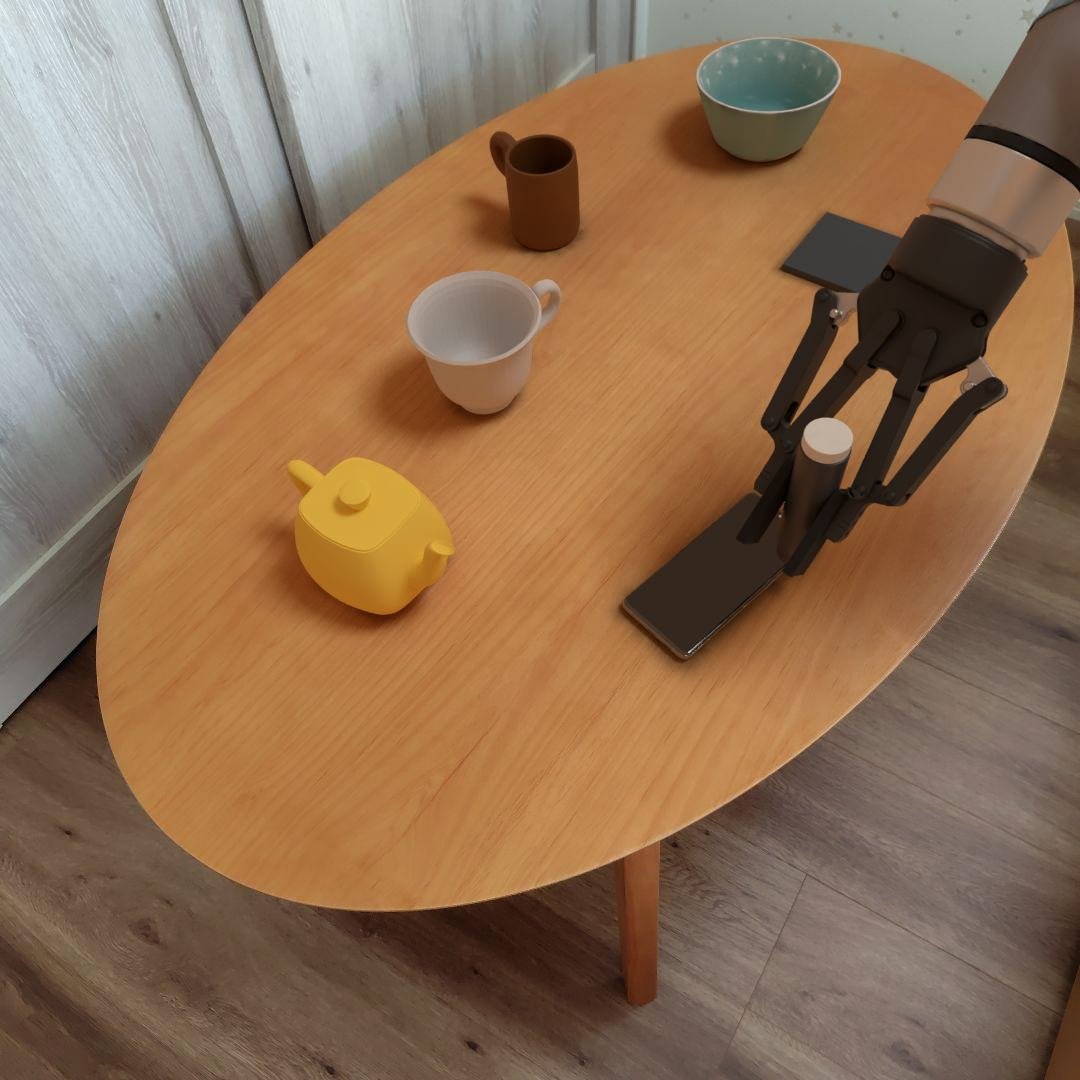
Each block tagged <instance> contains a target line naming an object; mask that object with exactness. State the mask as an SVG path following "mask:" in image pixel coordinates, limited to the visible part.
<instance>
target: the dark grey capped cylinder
mask: <svg viewBox="0 0 1080 1080" xmlns="http://www.w3.org/2000/svg"><path fill="white" fill-rule="evenodd" d="M853 443H854V433H853V431H852V430H851V428H850V427H849V426H848V425H847V424H846V423H845V422H843V421H841V420H839V419H837V418H819V419H816V420H813V421H812V422H810V423H809V424H808V425H807V426H806V428H805V430H804V433H803V436H802V437H801V439H800V442H799V446H798V450H797V454H796V458H795V463H794V467H793V471H792V475H791V479H790V483H789V487H788V491H787V495H786V499H785V502H784V503H783V507H782V510H781V511H782V515H781V519H780V523H779V527H778V531H777V535H776V538H777V547H776V551H777V554H778V556H779V558H780V559H781V560H782V561H783V562H784V563H786V564H787V562H788V561H789V559H790V558H791V556H792V555H793V553H794V551H795V550H796V548H797V547H798V545H799V544H800V542H801V541H802V539H803V538H804V536H805V535H806V533H807V532H808V530H809V529H810V527H811V526H812V524H813V523H814V521H815V520H816V518H817V516H818V515H819V513H820V512H821V510H822V509H823V507H824V506H825V504H826V503H827V501H828V500H829V498H830V497H831V495H832V494H833V492H834V491H835V489H841V486H842V483H843V479H844V476H845V473H846V470H847V467H848V464H849V461H850V457H851V455H852V446H853Z"/></svg>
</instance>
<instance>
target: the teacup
mask: <svg viewBox="0 0 1080 1080" xmlns="http://www.w3.org/2000/svg"><path fill="white" fill-rule="evenodd" d="M549 293H550V294H549ZM546 294H549V299H548V301H547V303H546V304H545V306H544V308H543V309H542V306H541V302H540V301H541V299H542V298H543V297H544V296H545V295H546ZM562 300H563V294H562V291H561V288H560V287H559V285H558V284H557V282H555V281H553V280H552V279H549V278H544V279H541V280H538V281H537V282H535V283H534V284H533V285H532V286H531V287H530V286H529V285H527V284H526V283H525V282H523V281H522V280H520V279H518V278H516V277H515V276H512V275H509V274H507V273H504V272H499V271H494V270H493V271H492V270H469V271H463V272H457V273H454V274H451V275H448V276H446V277H443V278H440V279H439V280H436V281H435V282H433V283H432V284H430V285H429V286H428V287H426V288H425V289H424V290H423V291H421V292H420V294H419V295H418V296H417V297H416V298H415V299H414V301H413V302H412V303H411V305H410V307H409V308H408V311H407V313H406V317H405V329H406V334H407V336H408V339H409V341H410V342H411V343H412V345H413V346H414V347H415V348H416V349H417V350H418V351H419V352H420V353H421V354H423V356H424V358H425V361H426V364H427V366H428V368H429V371H430V373H431V376H432V378H433V380H434V382H435V384H436V386H437V387H438V389H439V390H440V391H441V393H442V394H443V396H445V397H447V399H449V400H450V401H451V402H453V403H455V404H457V405H459V406H461V407H462V408H463V409H464V410H466V411H467V412H469V413H472V414H476V415H491V414H495V413H499V412H500V411H502V410H504V409H505V408H507V407H508V406H509V405H510V404H512V402H513V400H514V398H515V397H516V396H517V395H518V394H520V392H521V390H522V389H523V388H524V386H525V385H526V383H527V381H528V378H529V375H530V371H531V367H532V359H533V358H532V357H533V342H534V341H533V340H534V339H535V337H536V336H537V335H538V333H540V331H542V330H543V329H545V327H546V326H548V325H549V324H550V323H551V322H552V321H553V320H554V319H555V318H556V316H557V314H558V313H559V311H560V310H561V306H562V303H563V301H562Z"/></svg>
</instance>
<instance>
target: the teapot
mask: <svg viewBox="0 0 1080 1080" xmlns="http://www.w3.org/2000/svg"><path fill="white" fill-rule="evenodd" d="M286 472H287V476H288V477H289V479H290V480H291V482H292V483H293V485H294V486H295V488H296V489H297V491H298V492H299V493H300V495H302V497H303V498H302V499H301V500H300V503H299V504H298V507H297V512H296V516H295V522H294V523H295V524H294V540H295V546H296V551H297V553H298V557H299V560H300V562H301V564H302V565H303V568H304V569H305V570H306V572H307V574H309V576H310V577H311V579H313V581H314V582H315V583H316V584H317V585H318V586H319V587H320V588H321V589H323V591H325V592H326V593H328V595H330V596H331V597H332V598H335V599H336V600H338V601H339V602H342V603H343V604H346V605H347V606H350V607H352V608H355V609H358V610H361V611H363V612H367V613H370V614H374V615H382V616H384V615H393V614H395V613H397V612H400V610H401V611H402V609H403V608H405V607H406V606H407V605H409V604H410V603H411V602H412V601H413V600H414V599H415V598H416V597H418V595H419V594H420V593H421V592H422V591H424V589H425V588H427V587H430V586H432V585H433V584H435V583H436V582H437V581H438V580H439V579H440V578H441V577H442V576H443V574H444V573H445V571H446V569H447V565H448V558H450V556H451V555H453V554H454V553H455V551H456V548H455V546H454V545H453V536H452V532H451V530H450V528H449V525H448V524H447V522H446V520H445V518H444V516H443V515H442V513H441V512H440V511H439V510H438V508H437V506H436V505H435V504H434V503H433V502H432V501H431V500H430V499H429V498H428V497H427V496H426V495H425V494H424V493H423V492H422V491H421V490H420V489H419V488H418V487H416V486H415V485H414V484H413V483H412V482H411V481H409V480H408V479H407V478H405V477H404V476H403V475H401V474H400V473H399V472H397V471H395V470H394V469H391V468H390V467H387V466H386V465H384V464H381V463H379V462H377V461H374V460H370V459H368V458H364V457H358V456H357V457H356V456H355V457H349V458H346V459H345V460H343V461H341V462H340V463H338V464H337V465H335V466H334V467H333V468H332V469H331V470H330V471H328V473H327V474H326V475H324V474H323V473H322V472H320V471H319V470H318V469H316V468H315V467H313V466H312V465H311V464H309V463H307V462H305V461H304V460H301V459H293V460H290V461H289V462H288V464H287V465H286Z"/></svg>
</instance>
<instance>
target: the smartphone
mask: <svg viewBox="0 0 1080 1080" xmlns="http://www.w3.org/2000/svg"><path fill="white" fill-rule="evenodd" d="M761 497H762V495H761V494H759V493H758V492H756V491H750V492H747V493H746V494H744V495H743V496H742V497H741V498H740V499H738V500H737V501H736V502H735V503H734V504H733V505H732V506H731V507H729V508H728V509H727V510H725V511H724V512H723V513H722V514H721V515H720V516H718V517H717V518H716V519H715V520H714V521H712V522H711V523H710V524H709V525H708V526H707V527H706V528H704V530H702V531H701V532H700V533H699V534H697V535H696V536H694V538H692V540H690V541H689V542H688V543H687V544H686V545H685V546H683V547H682V548H681V549H680V550H679V551H678V552H676V553H675V554H674V555H673V556H672V557H670V558H669V560H667V561H666V562H664V564H662V565H661V566H660V567H659V568H658V569H657V570H656V571H654V572H653V573H652V574H651V575H650V576H648V577H647V578H646V579H645V580H643V582H641V583H640V584H639V585H638V586H637V587H636V588H634V589H633V590H632V591H631V592H630V593H629V594H627V595H626V596H625V597H624V598H623V600H622V608H623V609H624V611H625V612H626V613H627V614H629V615H630V617H632V618H633V619H634V620H635V621H636V622H637V623H638V624H639V625H641V626H642V627H643V628H644V629H646V630H647V631H648V633H650V634H651V635H652V636H654V638H655V639H657V640H658V641H659V642H660V643H661V644H662V645H663V646H665V647H666V648H667V649H668V650H669V651H670V652H671V653H672V654H674V655H675V656H676V657H678V658H679V659H681V660H688V659H690V658H692V657H693V656H694V655H695V654H696V653H697V652H698V651H700V649H701V648H702V647H704V645H705V646H706V644H707V643H708V642H709V641H710V640H712V639H713V638H714V637H715V636H716V635H717V634H718V633H719V632H720V631H721V630H722V629H723V628H724V627H726V626H727V625H728V624H729V623H730V622H731V621H732V620H734V619H735V617H737V616H738V615H739V614H740V613H741V612H742V611H743V610H744V609H745V608H746V607H748V606H749V605H750V604H751V603H752V602H753V601H754V600H755V599H757V597H758V596H760V595H761V594H762V593H763V592H765V591H766V590H767V589H768V588H769V587H770V586H772V584H773V583H774V582H775V581H776V580H777V579H778V578H780V577H781V576H783V574H785V573H784V572H783V571H782V570H783V568H784V567H785V565H786V563H784V562H783V561H782V560H781V559H780V558H779V556H778V554H777V551H776V547H777V538H776V535H777V531H778V527H779V523H780V519H781V515H782V511H783V510H781V509H779V511H778V513H777V514H776V516H775V517H774V519H773V520H772V522H771V523H770V525H769V527H768V528H767V530H766V531H765V533H764V534H763V536H762V538H761V539H760V541H759V542H758V543H753V544H743V543H741V542H740V541H738V540H737V539H736V537H737V535H738V533H739V532H740V530H741V529H742V527H743V525H744V524H745V522H746V521H747V519H748V517H749V516H750V514H751V513H752V511H753V510H754V508H755V506H756V505H757V503H758V502H759V500H760V498H761Z"/></svg>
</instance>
